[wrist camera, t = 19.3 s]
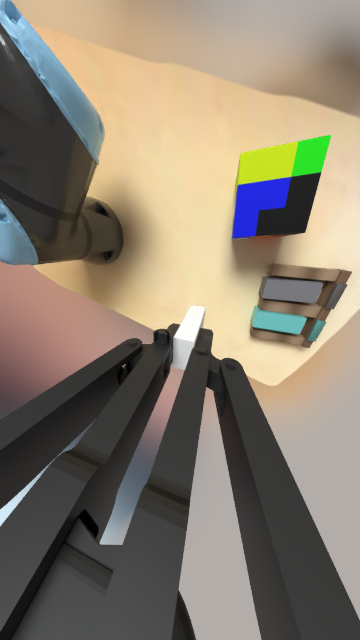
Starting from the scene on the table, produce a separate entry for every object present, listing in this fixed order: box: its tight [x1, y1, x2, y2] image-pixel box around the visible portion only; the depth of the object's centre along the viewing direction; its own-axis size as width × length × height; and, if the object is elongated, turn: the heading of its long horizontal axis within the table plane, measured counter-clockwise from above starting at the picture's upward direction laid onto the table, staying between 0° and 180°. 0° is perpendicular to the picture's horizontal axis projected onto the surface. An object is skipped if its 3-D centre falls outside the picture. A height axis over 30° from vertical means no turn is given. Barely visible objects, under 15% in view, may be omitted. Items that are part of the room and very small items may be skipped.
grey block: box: [259, 277, 323, 303], centre depth 33 cm, size 10×4×4 cm, turn 89°
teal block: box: [251, 306, 307, 334], centre depth 36 cm, size 10×4×4 cm, turn 87°
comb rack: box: [250, 264, 352, 348], centre depth 34 cm, size 13×18×4 cm
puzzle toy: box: [231, 135, 331, 240], centre depth 25 cm, size 10×10×10 cm
